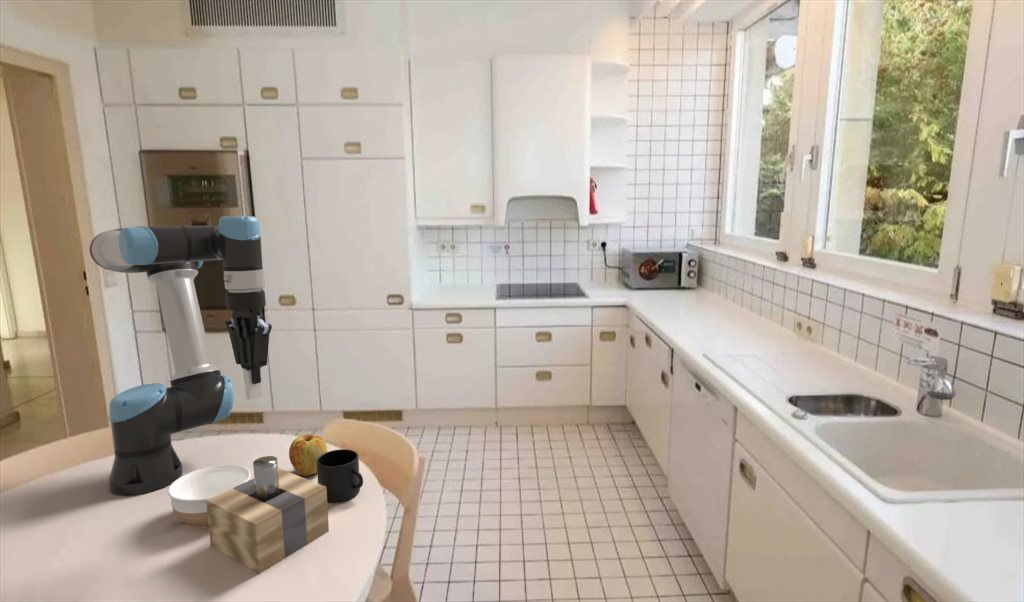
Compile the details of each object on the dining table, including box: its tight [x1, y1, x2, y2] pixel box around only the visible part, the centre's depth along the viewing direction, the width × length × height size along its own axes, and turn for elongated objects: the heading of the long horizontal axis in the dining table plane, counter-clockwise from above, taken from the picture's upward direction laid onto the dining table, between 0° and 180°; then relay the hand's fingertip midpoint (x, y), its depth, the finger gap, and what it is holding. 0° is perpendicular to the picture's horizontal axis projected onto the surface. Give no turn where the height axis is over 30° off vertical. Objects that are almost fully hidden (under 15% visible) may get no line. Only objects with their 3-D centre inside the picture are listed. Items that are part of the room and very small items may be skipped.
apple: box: [288, 434, 328, 477], centre depth 138 cm, size 9×9×10 cm
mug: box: [316, 448, 364, 504], centre depth 128 cm, size 9×12×9 cm
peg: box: [252, 455, 280, 502], centre depth 109 cm, size 4×4×9 cm
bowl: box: [167, 464, 252, 529], centre depth 119 cm, size 16×16×8 cm
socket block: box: [206, 467, 330, 574], centre depth 110 cm, size 16×16×10 cm
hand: (254, 397), depth 117 cm, fingers closed
